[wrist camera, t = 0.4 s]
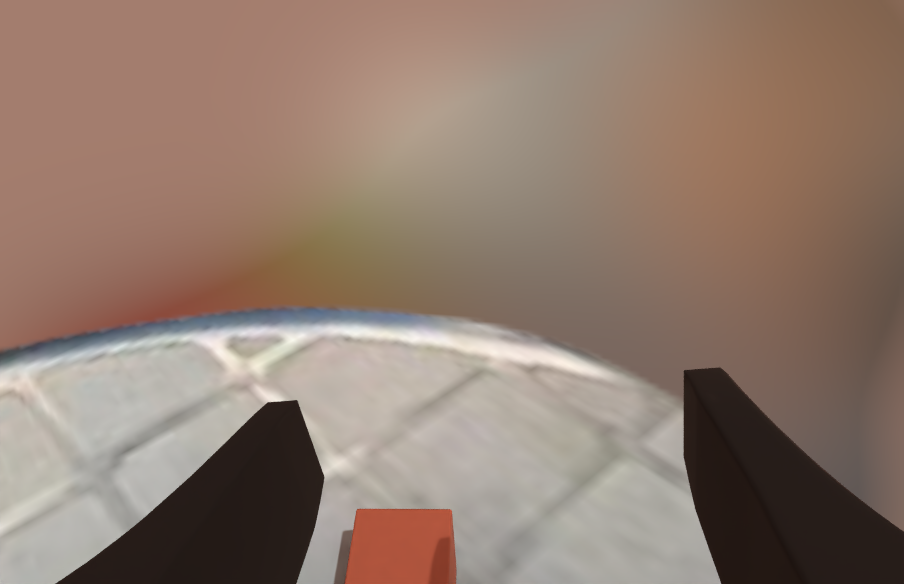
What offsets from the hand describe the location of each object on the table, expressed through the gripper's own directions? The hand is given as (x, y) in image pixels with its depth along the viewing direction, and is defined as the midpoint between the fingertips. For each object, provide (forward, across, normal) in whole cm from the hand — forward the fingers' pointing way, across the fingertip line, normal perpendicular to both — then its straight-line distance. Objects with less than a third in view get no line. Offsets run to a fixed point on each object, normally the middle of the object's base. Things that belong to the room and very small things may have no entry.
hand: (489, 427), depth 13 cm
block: (+9, +6, +18) cm, 21 cm away
